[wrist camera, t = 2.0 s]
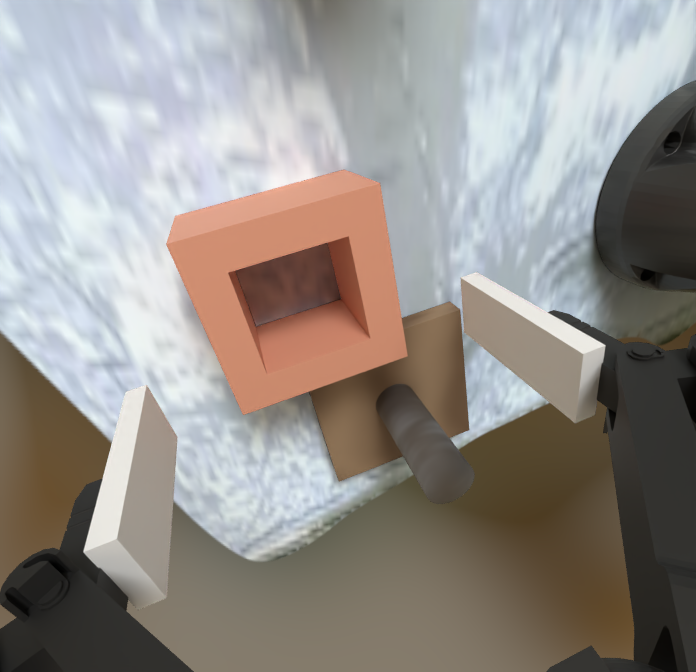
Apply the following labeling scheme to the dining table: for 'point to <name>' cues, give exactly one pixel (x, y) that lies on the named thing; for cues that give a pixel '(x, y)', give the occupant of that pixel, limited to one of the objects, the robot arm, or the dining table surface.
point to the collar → (308, 326)
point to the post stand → (405, 409)
